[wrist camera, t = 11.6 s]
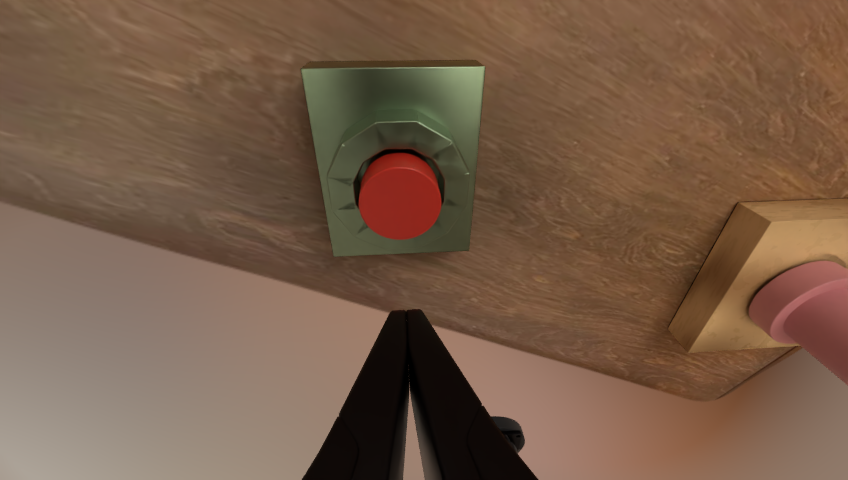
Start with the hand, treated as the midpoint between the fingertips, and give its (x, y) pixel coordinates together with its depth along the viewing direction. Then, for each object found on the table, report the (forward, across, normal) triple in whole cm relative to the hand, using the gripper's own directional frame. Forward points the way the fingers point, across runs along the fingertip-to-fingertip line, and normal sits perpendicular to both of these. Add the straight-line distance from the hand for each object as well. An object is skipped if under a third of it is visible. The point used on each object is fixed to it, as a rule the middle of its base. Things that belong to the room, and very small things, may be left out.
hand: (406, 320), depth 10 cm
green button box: (+12, 0, 0) cm, 12 cm away
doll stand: (+12, -27, +10) cm, 31 cm away
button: (+8, 0, 0) cm, 8 cm away
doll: (+10, -27, +10) cm, 30 cm away
